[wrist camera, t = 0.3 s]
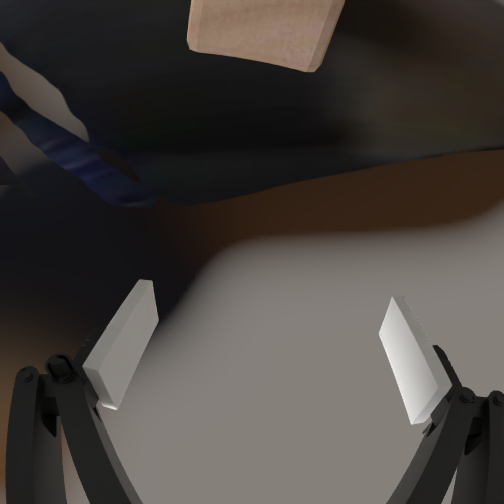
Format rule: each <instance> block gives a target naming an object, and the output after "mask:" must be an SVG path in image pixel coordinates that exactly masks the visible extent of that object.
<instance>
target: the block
mask: <svg viewBox="0 0 504 504" xmlns="http://www.w3.org/2000/svg"><path fill="white" fill-rule="evenodd" d="M344 2H345V0H192V2H191V9H190V17H189V25H188V34H187V42H188V44H189V48H190V49H191V50H193V51H196V52H202V53H211V54H219V55H226V56H233V57H239V58H245V59H251V60H256V61H261V62H266V63H271V64H276V65H280V66H284V67H289V68H293V69H297V70H301V71H304V72H314V71H315V70H316V69H317V68H318V67H319V66H320V65H321V63H322V61H323V58H324V55H325V53H326V50H327V47H328V45H329V42H330V39H331V37H332V34H333V31H334V29H335V26H336V24H337V21H338V18H339V16H340V13H341V10H342V8H343V5H344Z"/></svg>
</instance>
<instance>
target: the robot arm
mask: <svg viewBox="0 0 504 504" xmlns="http://www.w3.org/2000/svg"><path fill="white" fill-rule="evenodd" d="M157 322H158V316H157V309H156V303H155V297H154V290H153V283H152V281H148V280H139V281H138V282H137V284H136V285H135V287H134V288H133V289H132V291H131V292H130V294H129V295H128V297H127V298H126V300H125V301H124V303H123V304H122V305H121V307H120V308H119V310H118V311H117V313H116V314H115V316H114V317H113V319H112V320H111V322H110V323H109V325H108V326H107V327H103V326H99V327H97V328H96V329H94V330H93V331H92V332H91V333H90V335H89V336H88V338H87V340H86V341H85V342H84V344H83V346H82V347H81V348H80V350H79V351H78V353H77V354H76V356H75V357H74V359H73V360H72V359H71V357H70V356H69V355H67V354H65V353H57V354H54V355H52V356H51V357H50V358H48V360H47V361H46V363H45V369H46V371H47V373H48V374H47V375H46V374H39V372H38V370H37V369H36V368H34V367H33V366H27V367H24V368H22V369H20V371H19V372H18V373H17V375H16V378H15V383H14V389H13V394H12V401H11V407H10V414H9V423H8V433H7V445H6V501H7V502H6V503H7V504H67V501H66V493H65V486H64V475H63V465H62V447H61V422H62V426H63V430H64V433H65V437H66V440H67V443H68V447H69V450H70V453H71V456H72V459H73V462H74V465H75V467H76V470H77V473H78V476H79V478H80V481H81V483H82V485H83V488H84V491H85V493H86V495H87V498H88V500H89V502H90V504H143V503H142V501H141V500H140V498H139V496H138V495H137V493H136V491H135V489H134V487H133V486H132V484H131V482H130V480H129V478H128V476H127V474H126V472H125V470H124V468H123V466H122V464H121V462H120V460H119V458H118V456H117V454H116V452H115V449H114V447H113V445H112V443H111V440H110V438H109V436H108V433H107V431H106V429H105V426H104V424H103V421H102V419H101V416H100V413H99V411H98V408H97V407H96V404H97V402H98V400H100V402H101V404H102V405H103V406H105V407H108V408H112V409H115V410H118V407H119V405H120V403H121V400H122V398H123V396H124V394H125V391H126V389H127V387H128V385H129V382H130V380H131V378H132V376H133V373H134V371H135V369H136V367H137V365H138V362H139V360H140V358H141V356H142V354H143V352H144V350H145V347H146V345H147V343H148V341H149V339H150V337H151V335H152V333H153V331H154V329H155V327H156V325H157ZM379 336H380V338H381V341H382V343H383V346H384V348H385V351H386V353H387V356H388V359H389V361H390V364H391V367H392V370H393V372H394V375H395V378H396V381H397V383H398V386H399V389H400V392H401V395H402V398H403V401H404V404H405V407H406V410H407V413H408V416H409V419H410V422H411V424H417V423H422V422H425V421H426V420H427V418H428V417H429V416H430V415H431V418H432V422H431V423H430V424H429V425H428V426H427V428H426V429H425V430H424V431H423V434H424V433H425V432H426V433H425V435H424V438H423V439H422V442H421V444H420V446H419V448H418V450H417V452H416V454H415V456H414V458H413V459H412V461H411V463H410V465H409V467H408V469H407V471H406V472H405V474H404V476H403V478H402V479H401V481H400V483H399V485H398V486H397V488H396V489H395V491H394V493H393V494H392V496H391V497H390V499H389V500H388V502H387V503H386V504H441V503H442V501H443V498H444V496H445V494H446V492H447V490H448V487H449V485H450V483H451V481H452V478H453V476H454V473H455V471H456V468H457V474H456V480H455V485H454V491H453V496H452V501H451V504H504V394H503V393H502V392H500V391H492V392H491V393H490V394H489V396H488V397H478V396H476V395H475V394H474V392H473V391H472V390H471V389H469V388H466V387H462V385H461V383H460V381H459V379H458V377H457V375H456V373H455V371H454V369H453V367H452V366H451V364H450V362H449V361H448V358H447V356H446V354H445V352H444V351H443V350H442V349H441V348H440V347H439V346H438V345H433V346H432V345H431V343H430V341H429V339H428V337H427V336H426V334H425V332H424V330H423V328H422V326H421V325H420V323H419V321H418V319H417V318H416V316H415V314H414V313H413V311H412V309H411V308H410V306H409V304H408V303H407V301H406V299H405V298H404V297H403V296H392V299H391V302H390V304H389V308H388V310H387V313H386V316H385V319H384V322H383V324H382V327H381V330H380V332H379ZM457 466H458V467H457Z"/></svg>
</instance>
